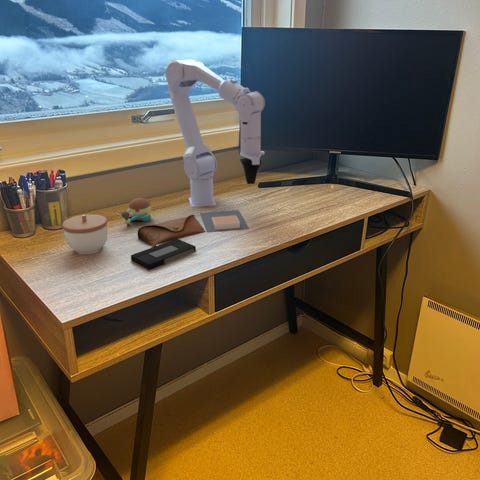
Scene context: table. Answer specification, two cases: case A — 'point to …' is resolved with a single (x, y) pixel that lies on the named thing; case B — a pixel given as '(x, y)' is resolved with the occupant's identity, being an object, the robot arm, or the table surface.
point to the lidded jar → (86, 233)
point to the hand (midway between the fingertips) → (250, 183)
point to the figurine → (137, 211)
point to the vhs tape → (162, 254)
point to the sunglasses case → (169, 230)
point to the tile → (225, 222)
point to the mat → (208, 216)
